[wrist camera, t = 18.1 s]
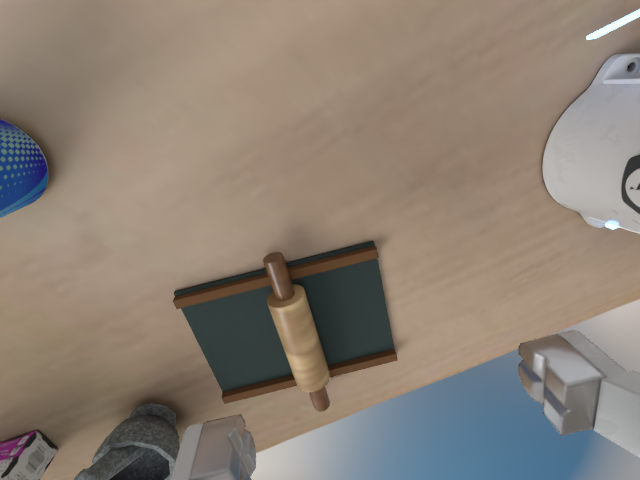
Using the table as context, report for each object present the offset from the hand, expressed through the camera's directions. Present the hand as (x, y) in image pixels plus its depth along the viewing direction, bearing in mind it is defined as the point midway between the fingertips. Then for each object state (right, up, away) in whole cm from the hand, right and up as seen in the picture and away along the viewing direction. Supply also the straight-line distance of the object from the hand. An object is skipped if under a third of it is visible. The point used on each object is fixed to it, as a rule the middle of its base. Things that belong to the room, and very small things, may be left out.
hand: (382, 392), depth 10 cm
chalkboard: (-5, -7, +34) cm, 35 cm away
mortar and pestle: (-25, -20, +39) cm, 50 cm away
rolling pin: (-4, -6, +34) cm, 35 cm away
